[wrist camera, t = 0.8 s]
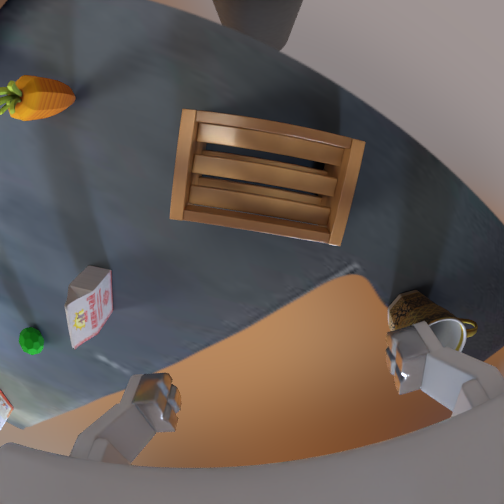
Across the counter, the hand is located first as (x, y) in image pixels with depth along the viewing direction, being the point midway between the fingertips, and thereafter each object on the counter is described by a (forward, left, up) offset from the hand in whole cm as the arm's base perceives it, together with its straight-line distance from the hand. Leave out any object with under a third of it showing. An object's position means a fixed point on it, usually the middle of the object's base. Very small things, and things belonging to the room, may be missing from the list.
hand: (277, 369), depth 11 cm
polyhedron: (+30, -36, -28) cm, 54 cm away
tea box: (+17, -21, -28) cm, 39 cm away
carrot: (-9, -26, -28) cm, 39 cm away
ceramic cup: (+12, +25, -28) cm, 39 cm away
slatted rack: (-3, -1, -28) cm, 28 cm away
